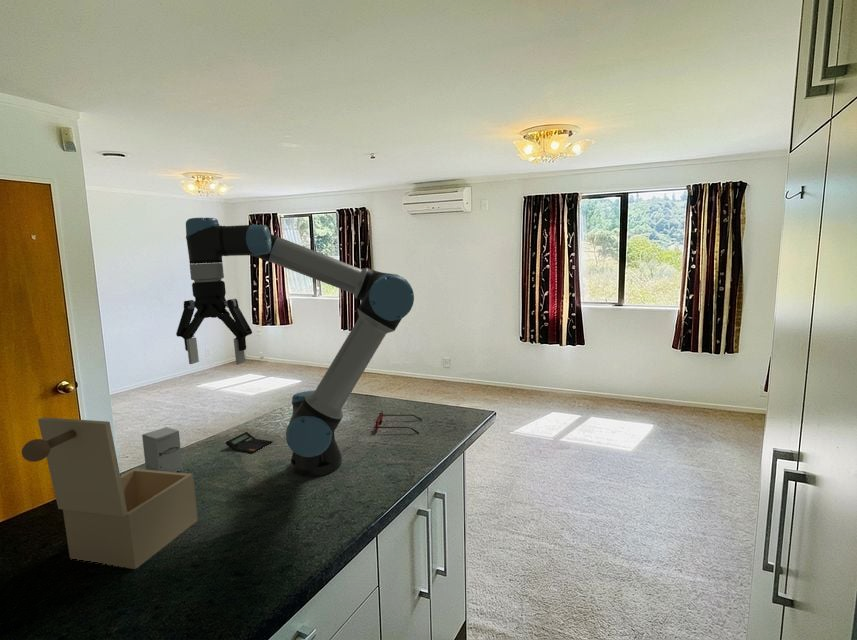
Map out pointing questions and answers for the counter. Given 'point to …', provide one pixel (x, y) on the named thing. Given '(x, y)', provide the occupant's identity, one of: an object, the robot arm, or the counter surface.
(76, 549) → the carton
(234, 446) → the calculator
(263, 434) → the counter surface
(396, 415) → the glasses
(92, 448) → the flap
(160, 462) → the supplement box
